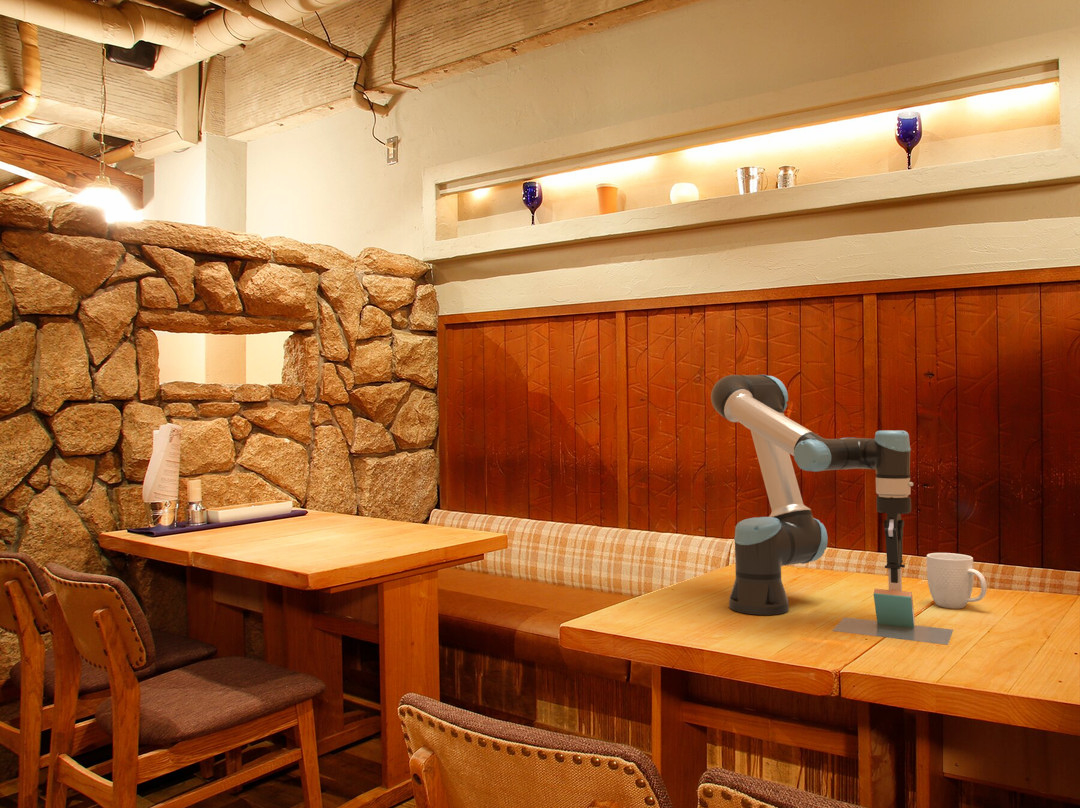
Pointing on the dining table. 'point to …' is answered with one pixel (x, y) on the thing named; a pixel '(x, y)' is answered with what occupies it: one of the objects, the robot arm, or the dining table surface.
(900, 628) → the slate board
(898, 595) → the tile
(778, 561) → the robot arm
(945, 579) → the mug
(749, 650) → the dining table surface
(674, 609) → the dining table surface
